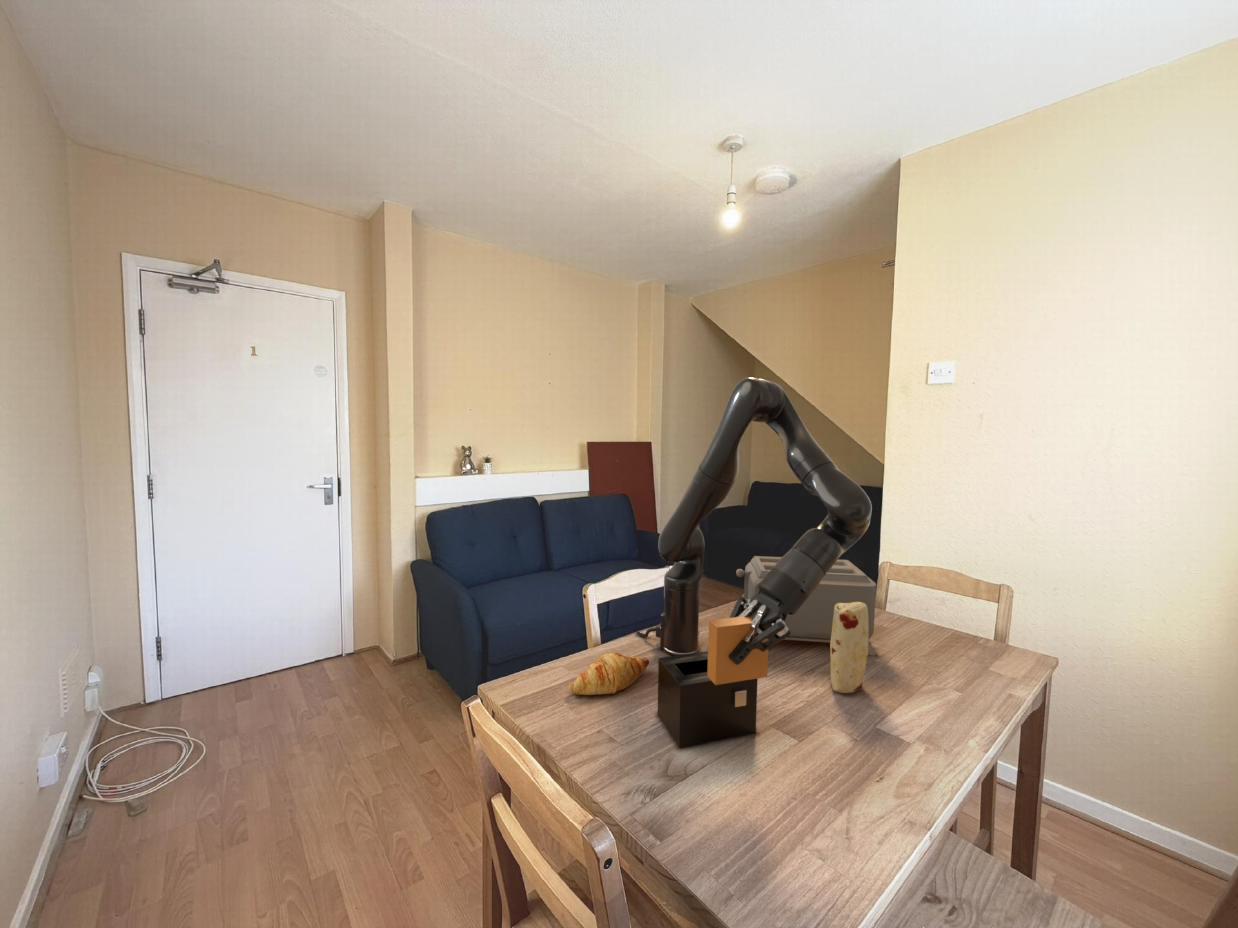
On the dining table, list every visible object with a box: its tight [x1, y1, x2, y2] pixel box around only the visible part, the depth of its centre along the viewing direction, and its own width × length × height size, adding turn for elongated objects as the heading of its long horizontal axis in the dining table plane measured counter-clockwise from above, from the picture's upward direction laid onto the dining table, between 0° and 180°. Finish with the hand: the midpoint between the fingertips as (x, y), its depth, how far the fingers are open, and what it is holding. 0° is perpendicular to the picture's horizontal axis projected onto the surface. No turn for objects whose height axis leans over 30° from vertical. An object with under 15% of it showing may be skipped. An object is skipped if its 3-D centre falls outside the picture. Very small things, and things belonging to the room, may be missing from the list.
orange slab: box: [707, 616, 769, 685], centre depth 83 cm, size 3×10×10 cm, turn 107°
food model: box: [829, 602, 869, 694], centre depth 109 cm, size 10×7×20 cm
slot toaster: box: [657, 650, 759, 749], centre depth 95 cm, size 12×16×12 cm
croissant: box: [568, 652, 650, 696], centre depth 111 cm, size 21×10×8 cm, turn 125°
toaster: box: [735, 555, 877, 656], centre depth 137 cm, size 19×35×20 cm, turn 82°
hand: (727, 655), depth 83 cm, fingers closed on orange slab, 3 cm apart
